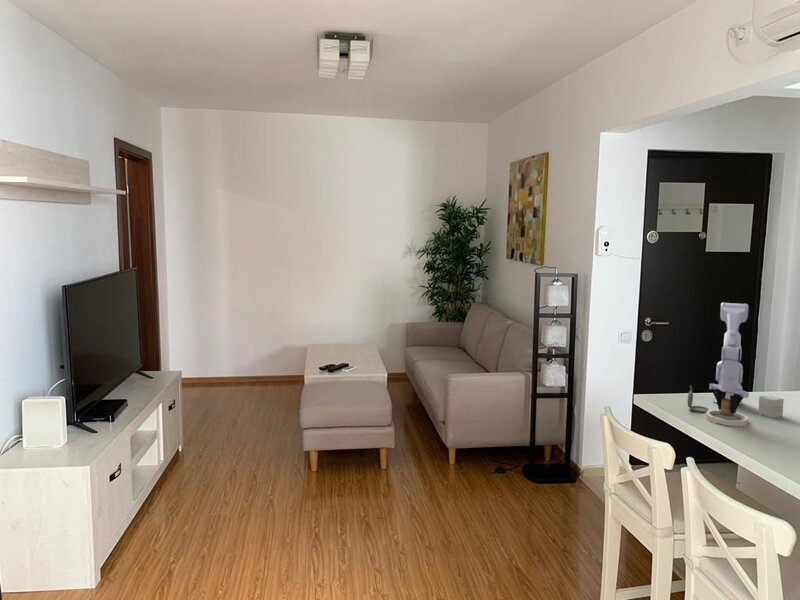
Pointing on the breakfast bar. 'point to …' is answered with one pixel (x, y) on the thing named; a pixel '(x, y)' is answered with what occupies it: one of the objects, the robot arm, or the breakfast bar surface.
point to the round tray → (726, 418)
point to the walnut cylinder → (726, 407)
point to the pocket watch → (694, 408)
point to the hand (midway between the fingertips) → (726, 411)
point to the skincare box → (770, 406)
